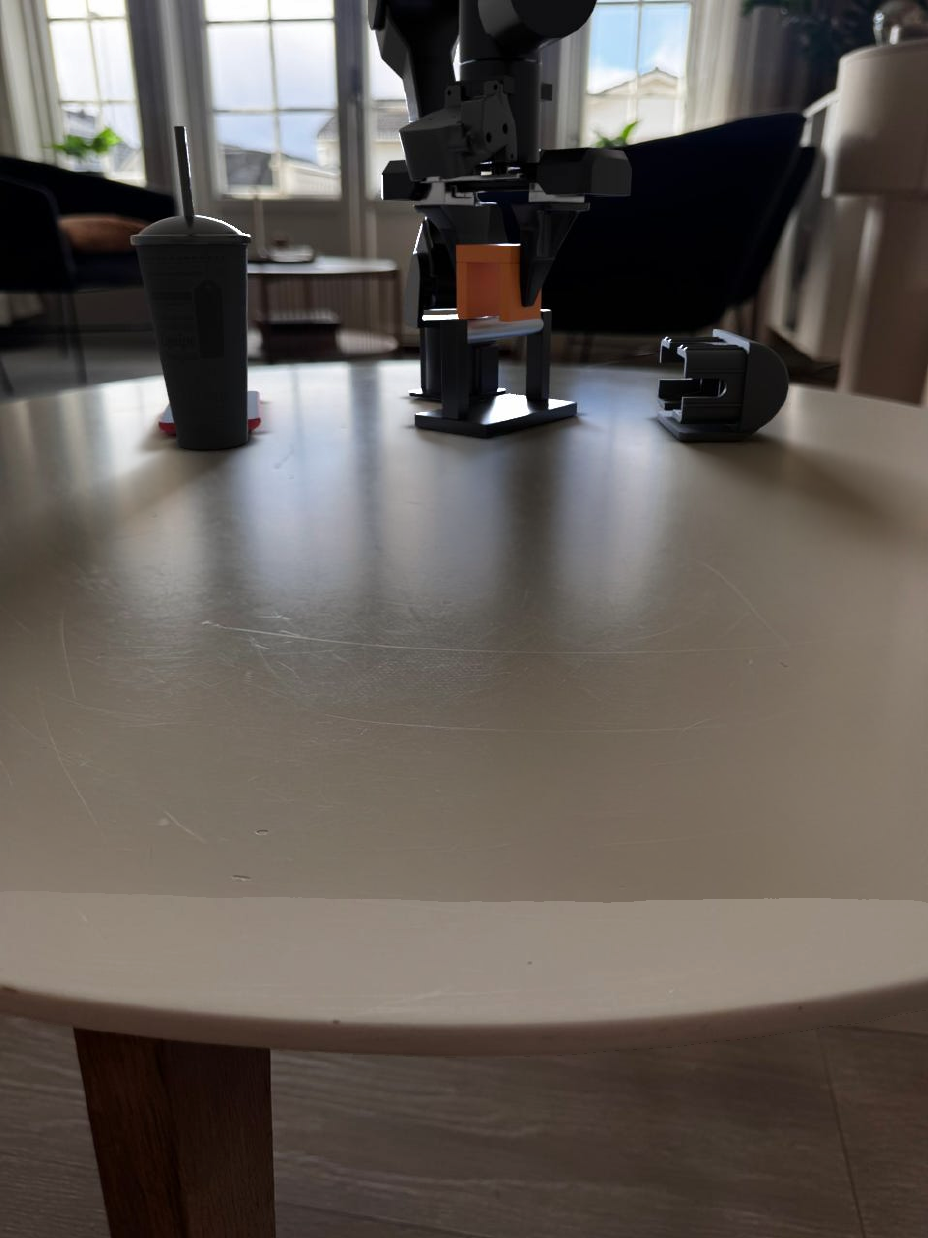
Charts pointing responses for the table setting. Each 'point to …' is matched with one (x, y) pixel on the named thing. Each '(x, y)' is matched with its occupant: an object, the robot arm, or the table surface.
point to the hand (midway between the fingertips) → (498, 304)
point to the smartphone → (253, 414)
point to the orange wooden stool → (491, 283)
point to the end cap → (720, 387)
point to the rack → (501, 410)
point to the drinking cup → (199, 318)
